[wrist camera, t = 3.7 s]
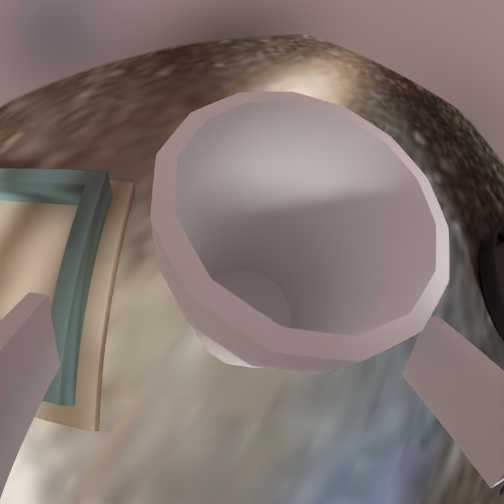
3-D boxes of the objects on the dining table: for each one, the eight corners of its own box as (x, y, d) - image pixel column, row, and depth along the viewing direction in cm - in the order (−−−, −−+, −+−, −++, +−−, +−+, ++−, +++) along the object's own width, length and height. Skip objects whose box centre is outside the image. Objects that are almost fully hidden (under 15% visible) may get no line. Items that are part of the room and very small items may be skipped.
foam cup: (205, 230, 22) (234, 65, 11) (327, 281, 23) (442, 160, 11) (145, 355, 18) (80, 265, 6) (287, 412, 18) (436, 402, 7)
